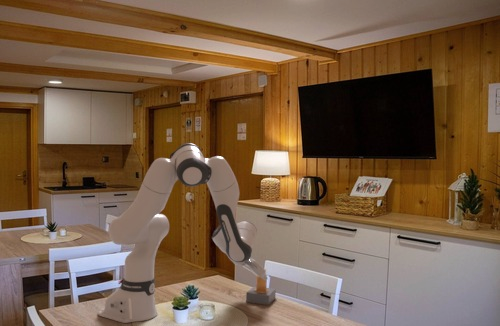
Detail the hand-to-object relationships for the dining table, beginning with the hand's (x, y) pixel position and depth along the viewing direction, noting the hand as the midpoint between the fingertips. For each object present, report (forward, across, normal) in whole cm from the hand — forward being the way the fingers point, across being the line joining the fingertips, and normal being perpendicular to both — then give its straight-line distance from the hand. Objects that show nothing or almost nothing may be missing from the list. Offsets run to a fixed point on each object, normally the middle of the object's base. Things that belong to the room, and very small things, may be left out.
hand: (261, 276), depth 193 cm
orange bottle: (+4, 0, +4) cm, 6 cm away
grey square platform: (+7, 0, +7) cm, 10 cm away
